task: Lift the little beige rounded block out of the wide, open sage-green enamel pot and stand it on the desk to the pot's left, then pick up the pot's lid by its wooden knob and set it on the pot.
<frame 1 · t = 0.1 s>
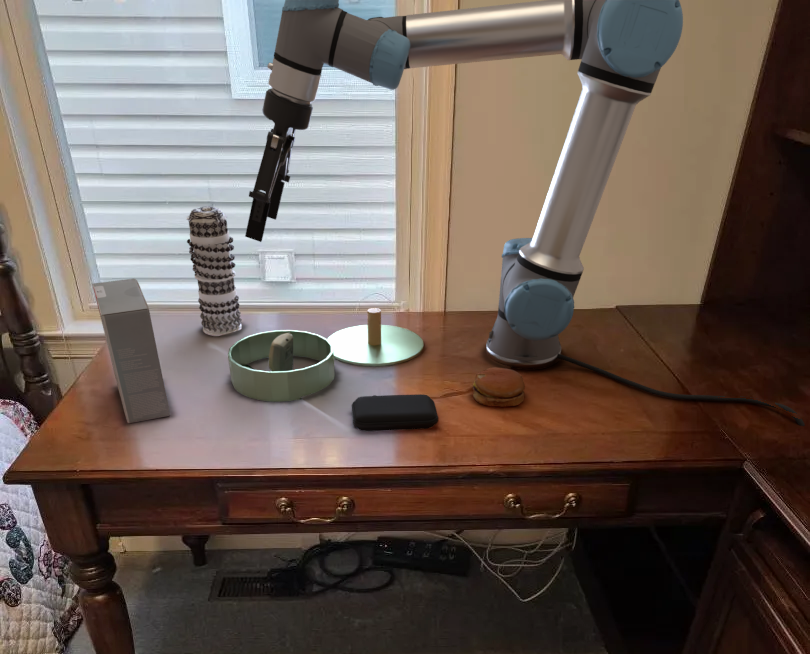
hand: (261, 227, 130), 28 cm above the table, tool tilted 20°, fingers open, 13 cm apart
pot: (283, 378, 145), on the table
hard drive box: (143, 402, 137), on the table
carrying case: (394, 419, 133), on the table
beige rounded block: (283, 377, 145), resting on pot
burger: (497, 398, 140), on the table
decorative candle: (222, 329, 165), on the table
pot lid: (374, 345, 157), point 1 cm above the table
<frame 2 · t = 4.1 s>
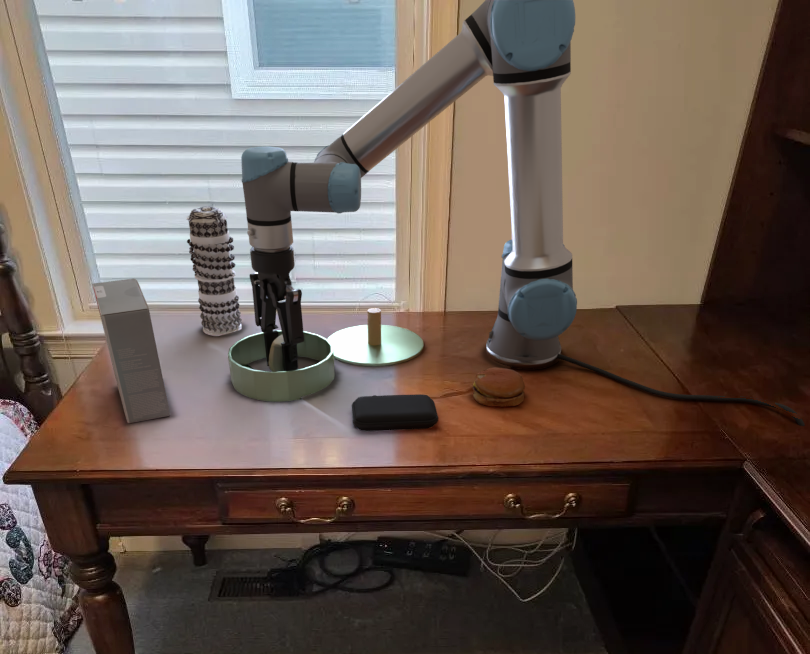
hand: (282, 369, 144), 2 cm above the table, tool pointing down, fingers closed on beige rounded block, 5 cm apart
beige rounded block: (284, 377, 145), resting on pot, touching gripper
everything else where it was.
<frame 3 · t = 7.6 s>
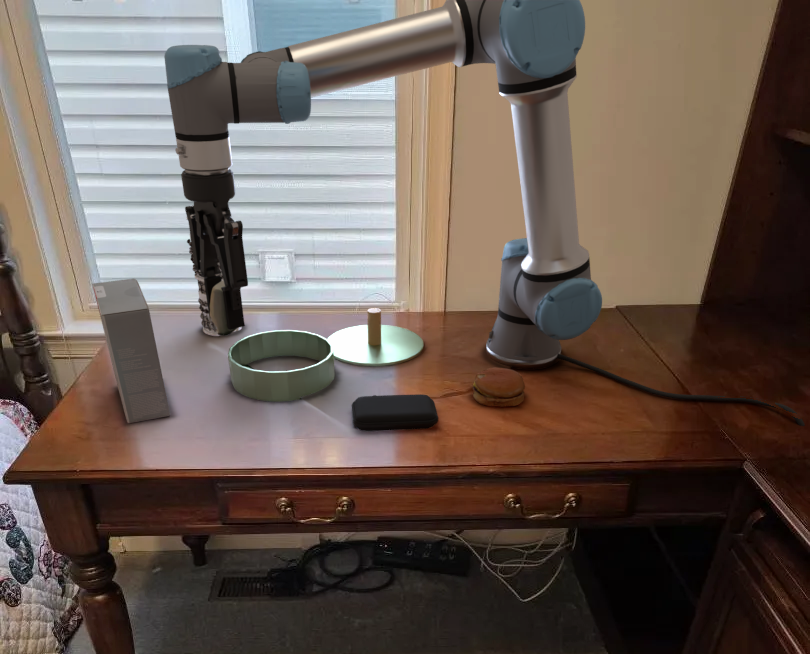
hand: (226, 321, 124), 17 cm above the table, tool pointing down, fingers closed on beige rounded block, 5 cm apart
beige rounded block: (228, 331, 125), point 15 cm above the table, touching gripper
everything else where it was.
when the fingers open (1 cm above the table, at t = 11.4 s): beige rounded block stays where it is, on the table.
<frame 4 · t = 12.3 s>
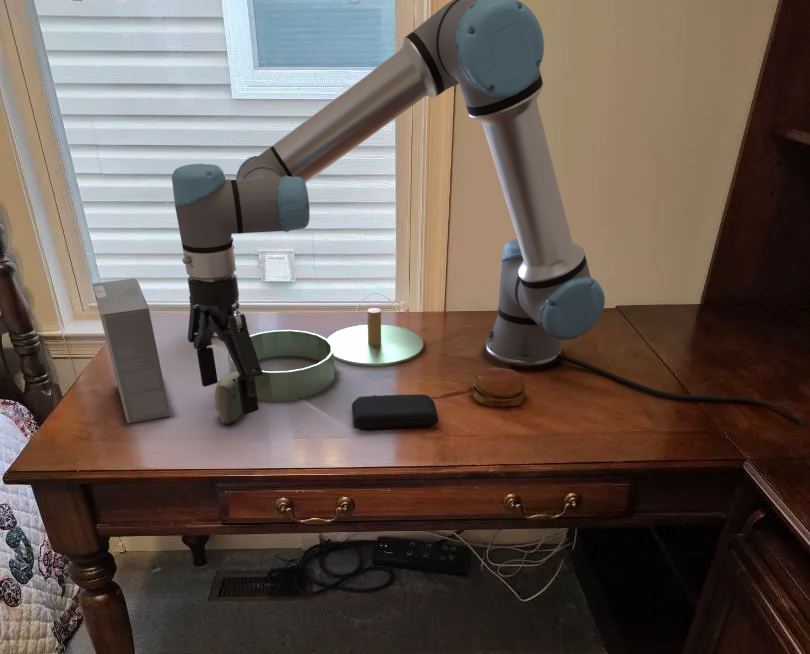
hand: (229, 397, 130), 4 cm above the table, tool pointing down, fingers open, 13 cm apart
beige rounded block: (232, 420, 132), on the table
everything else where it was.
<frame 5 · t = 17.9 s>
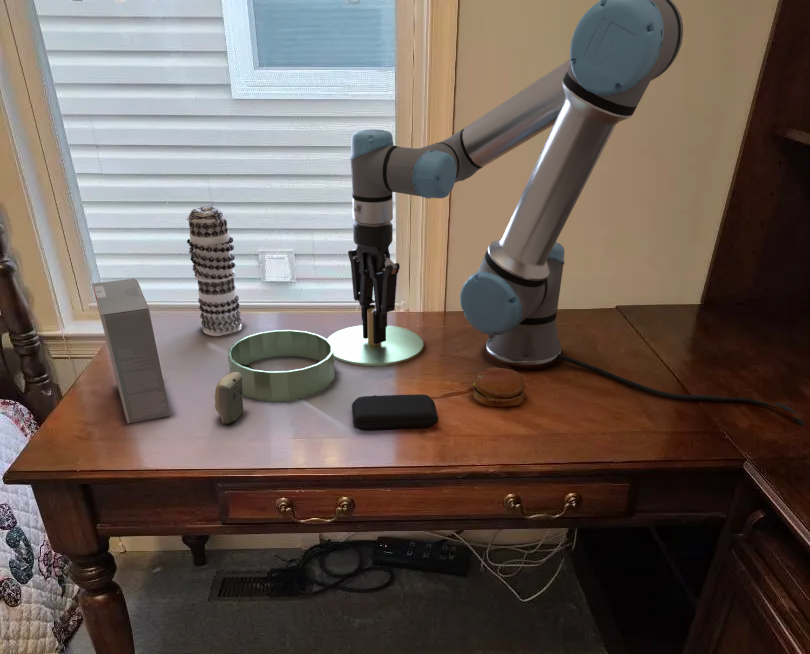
hand: (374, 339, 156), 2 cm above the table, tool pointing down, fingers closed on pot lid, 3 cm apart
pot lid: (374, 345, 157), point 1 cm above the table, touching gripper
everything else where it was.
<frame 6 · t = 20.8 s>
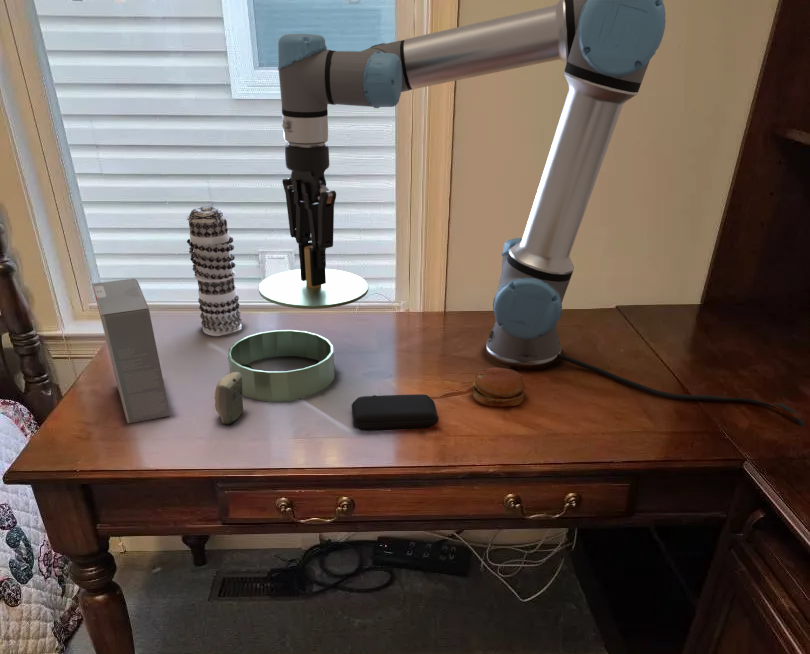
hand: (313, 281, 140), 17 cm above the table, tool pointing down, fingers closed on pot lid, 3 cm apart
pot lid: (313, 289, 141), point 16 cm above the table, touching gripper
everything else where it was.
when the fingers open (7 cm above the table, at t = 23.9 s): pot lid stays where it is, resting on pot.
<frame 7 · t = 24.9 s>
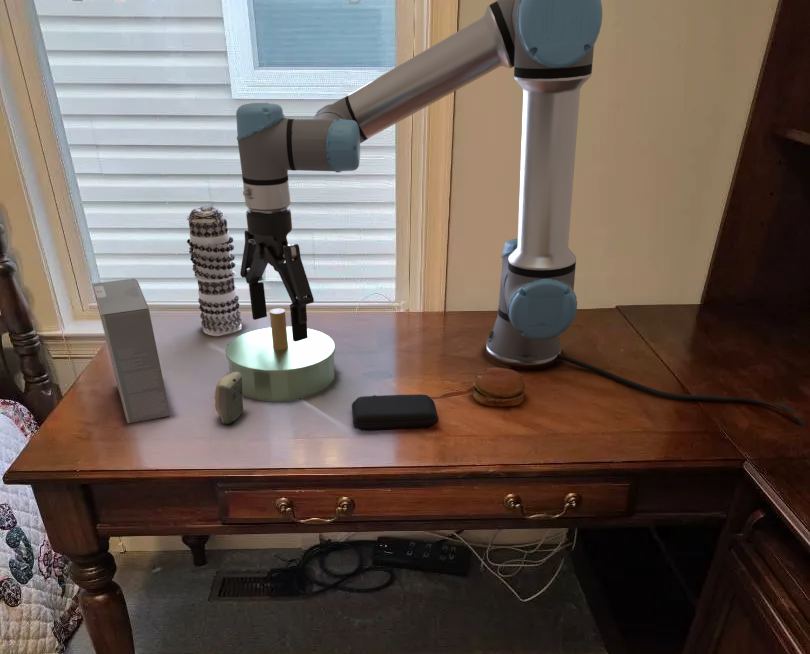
hand: (279, 328, 139), 10 cm above the table, tool pointing down, fingers open, 13 cm apart
pot lid: (280, 350, 142), point 6 cm above the table, touching pot
everything else where it was.
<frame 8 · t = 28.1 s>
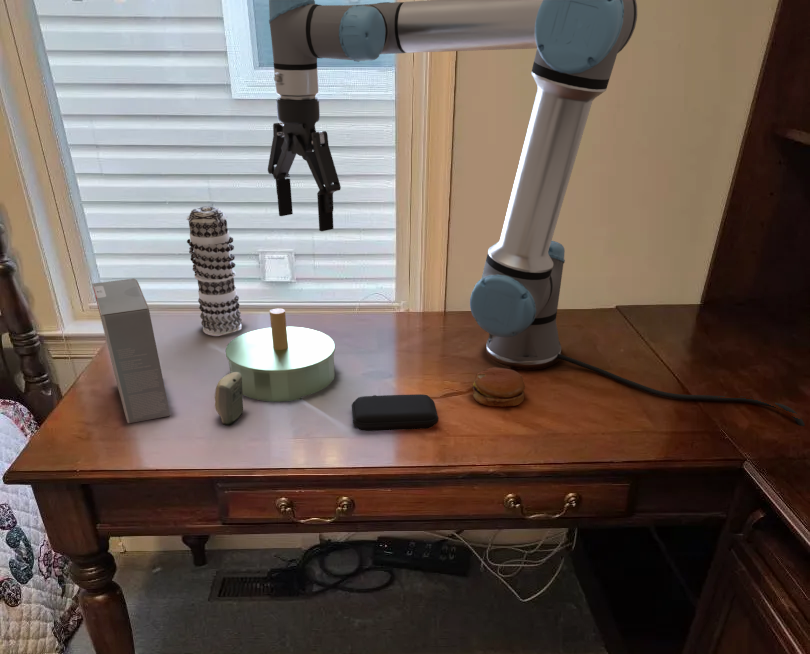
hand: (305, 222, 144), 25 cm above the table, tool pointing down, fingers open, 13 cm apart
nothing on the table moved.
at the end: beige rounded block inside the target area (0.2 cm from its centre), on the table; beige rounded block tilted 0°; pot lid 0.0 cm off-centre on the pot, point 5.8 cm above the pot's base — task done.
